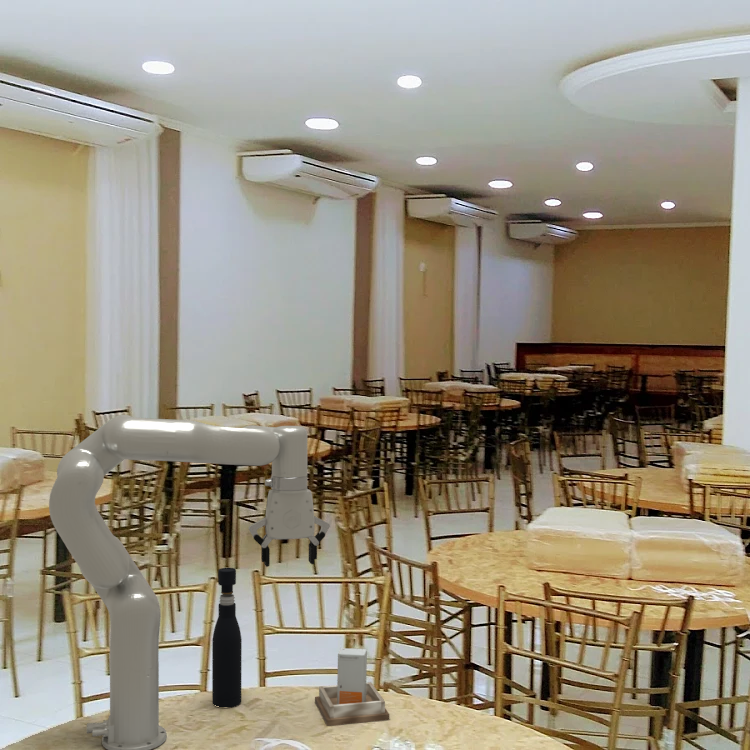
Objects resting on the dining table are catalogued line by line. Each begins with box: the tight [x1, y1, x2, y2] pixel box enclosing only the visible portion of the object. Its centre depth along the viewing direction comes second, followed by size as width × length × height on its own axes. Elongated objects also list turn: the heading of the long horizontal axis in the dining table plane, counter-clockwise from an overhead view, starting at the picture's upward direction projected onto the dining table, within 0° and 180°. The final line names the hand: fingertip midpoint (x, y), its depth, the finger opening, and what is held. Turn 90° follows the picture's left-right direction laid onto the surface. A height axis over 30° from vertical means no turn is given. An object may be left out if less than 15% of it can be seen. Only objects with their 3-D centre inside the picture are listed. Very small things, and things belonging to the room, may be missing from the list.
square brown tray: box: [314, 681, 390, 727], centre depth 204 cm, size 14×14×4 cm
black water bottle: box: [211, 567, 243, 708], centre depth 208 cm, size 6×6×30 cm
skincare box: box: [336, 647, 368, 705], centre depth 204 cm, size 6×4×12 cm
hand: (289, 564), depth 199 cm, fingers open, 9 cm apart
